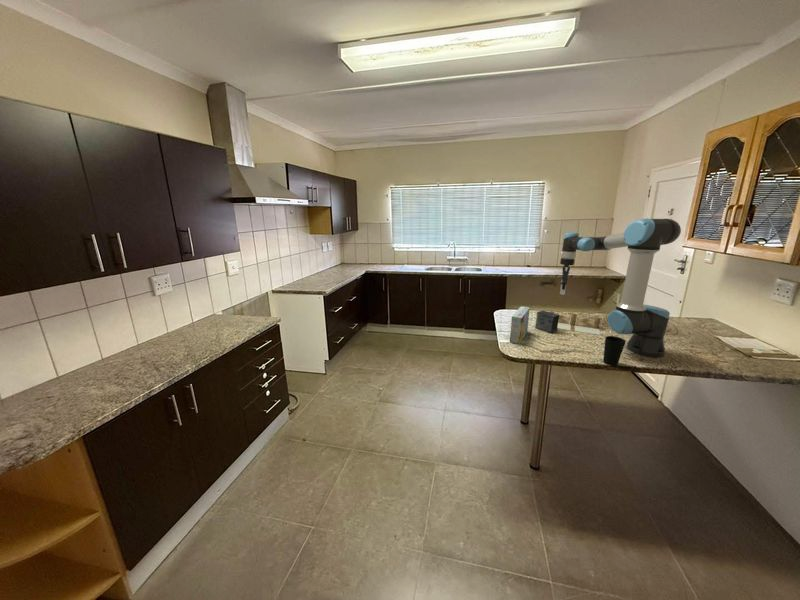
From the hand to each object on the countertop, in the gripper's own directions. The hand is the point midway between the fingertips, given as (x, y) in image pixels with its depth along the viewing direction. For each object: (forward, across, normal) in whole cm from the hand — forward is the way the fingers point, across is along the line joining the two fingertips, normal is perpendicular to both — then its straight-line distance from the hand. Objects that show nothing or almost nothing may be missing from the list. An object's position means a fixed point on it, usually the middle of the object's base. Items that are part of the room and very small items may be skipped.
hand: (562, 292), depth 195 cm
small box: (+19, +23, -6) cm, 30 cm away
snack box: (+19, +42, -19) cm, 50 cm away
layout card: (+19, +10, +8) cm, 23 cm away
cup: (+19, +55, +23) cm, 62 cm away
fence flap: (+18, +7, 0) cm, 19 cm away
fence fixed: (+19, +7, +14) cm, 24 cm away
